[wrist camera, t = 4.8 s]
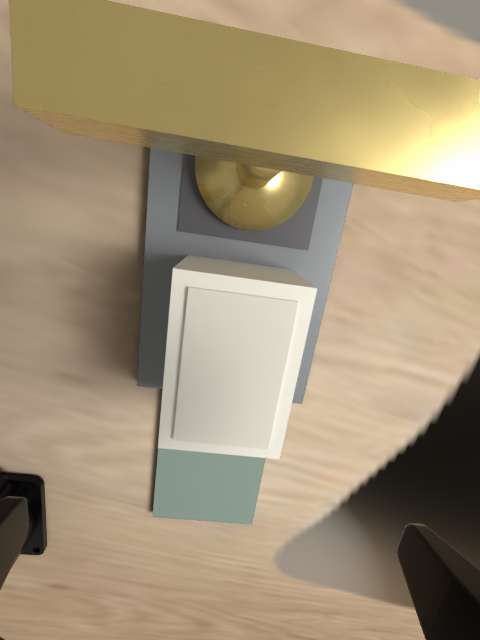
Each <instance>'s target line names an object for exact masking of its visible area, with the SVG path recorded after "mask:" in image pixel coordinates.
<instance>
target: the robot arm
mask: <svg viewBox="0 0 480 640" xmlns="http://www.w3.org/2000/svg"><path fill="white" fill-rule="evenodd" d="M46 547H47V531H46V509H45V487H44V481H43V480H42V479H41V478H39V477H31V476H19V475H7V474H0V590H1V588H2V586H3V583H4V581H5V579H6V577H7V575H8V573H9V571H10V569H11V568H12V566H13V564H14V563H15V561H16V560H17V558H18V556H19V555H20V554H27V555H41V554H42V553H43V552H44V551H45V549H46ZM397 551H398V558H399V561H400V565H401V567H402V570H403V574H404V576H405V580H406V583H407V586H408V588H409V591H410V595H411V597H412V601H413V604H414V607H415V610H416V613H417V616H418V619H419V622H420V625H421V627H422V630H423V633H424V636H425V638H426V640H480V570H479V569H477V568H476V567H475V566H474V565H473V564H471V563H470V562H469V561H468V560H467V559H466V558H464V557H463V556H462V555H461V554H459V553H458V552H457V551H456V550H454V548H452V547H451V546H450V545H449V544H448V543H446V542H445V541H444V540H443V539H442V538H440V537H439V536H438V535H437V534H436V533H434V532H433V531H432V530H431V529H430V528H428V527H427V526H425V525H423V524H411V523H410V524H408V525H406V527H405V529H404V532H403V534H402V537H401V540H400V542H399V545H398V550H397ZM0 640H5V639H3V638H1V637H0Z"/></svg>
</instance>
